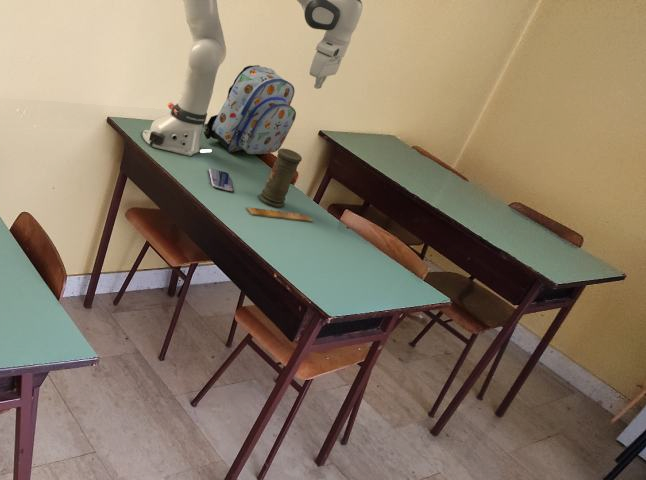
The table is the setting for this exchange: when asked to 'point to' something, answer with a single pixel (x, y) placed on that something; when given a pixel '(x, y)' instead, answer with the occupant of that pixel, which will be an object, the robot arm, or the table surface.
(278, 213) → the ruler
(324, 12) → the robot arm
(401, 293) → the table surface
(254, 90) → the backpack
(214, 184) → the mobile phone
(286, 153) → the container
